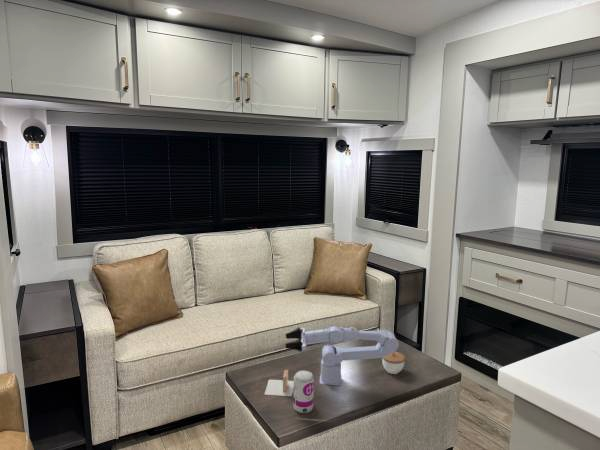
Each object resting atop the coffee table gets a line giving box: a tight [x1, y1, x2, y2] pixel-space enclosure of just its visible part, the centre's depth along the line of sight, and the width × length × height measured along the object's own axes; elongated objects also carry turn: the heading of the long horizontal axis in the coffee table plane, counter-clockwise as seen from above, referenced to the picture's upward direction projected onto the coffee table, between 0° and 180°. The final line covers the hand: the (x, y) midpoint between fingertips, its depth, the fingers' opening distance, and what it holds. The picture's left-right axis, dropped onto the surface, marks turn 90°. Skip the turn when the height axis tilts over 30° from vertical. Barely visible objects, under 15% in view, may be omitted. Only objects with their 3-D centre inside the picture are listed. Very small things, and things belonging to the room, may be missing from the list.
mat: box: [264, 379, 294, 397], centre depth 182 cm, size 12×12×1 cm
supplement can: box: [292, 369, 315, 414], centre depth 167 cm, size 8×8×15 cm
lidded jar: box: [381, 350, 406, 375], centre depth 198 cm, size 11×11×9 cm
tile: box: [282, 369, 289, 392], centre depth 181 cm, size 2×6×7 cm, turn 175°
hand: (285, 341), depth 186 cm, fingers open, 7 cm apart
